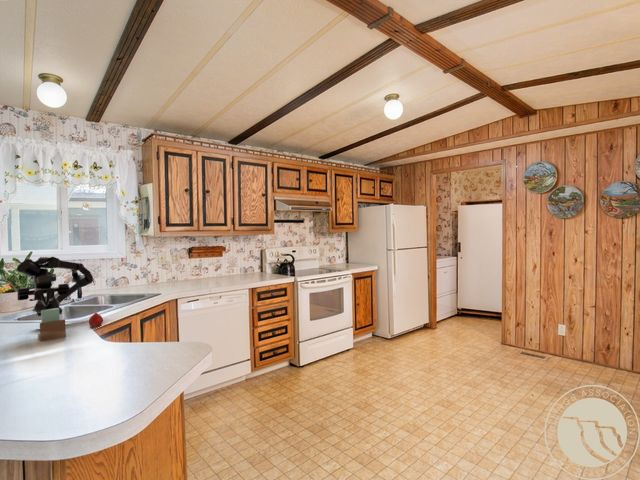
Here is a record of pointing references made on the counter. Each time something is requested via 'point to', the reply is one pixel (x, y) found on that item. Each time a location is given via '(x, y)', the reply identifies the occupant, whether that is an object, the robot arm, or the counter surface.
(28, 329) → the counter surface
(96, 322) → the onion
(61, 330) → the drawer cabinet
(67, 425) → the counter surface
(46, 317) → the green rectangular block
